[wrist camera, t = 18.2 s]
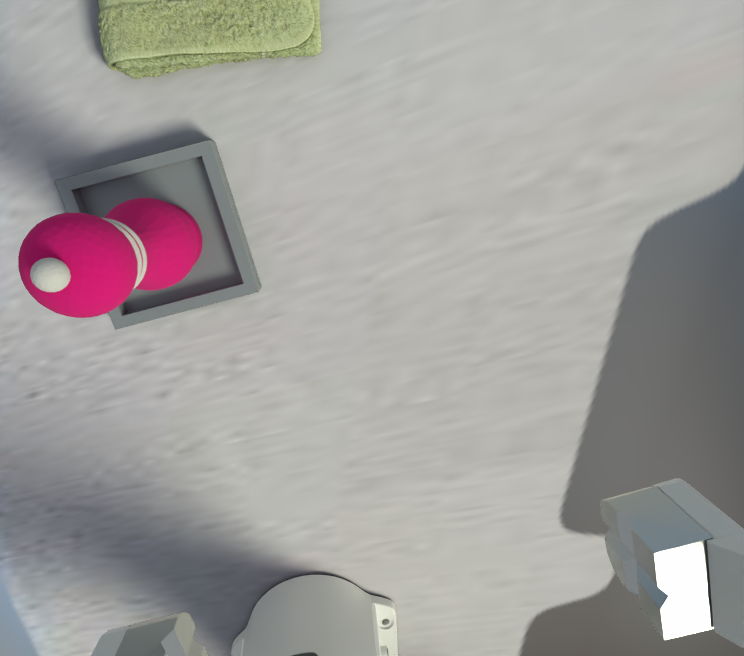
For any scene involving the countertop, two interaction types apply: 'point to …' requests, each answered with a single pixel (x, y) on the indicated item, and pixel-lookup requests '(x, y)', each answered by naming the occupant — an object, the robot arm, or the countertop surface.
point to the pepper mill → (108, 255)
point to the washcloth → (203, 32)
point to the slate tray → (195, 195)
